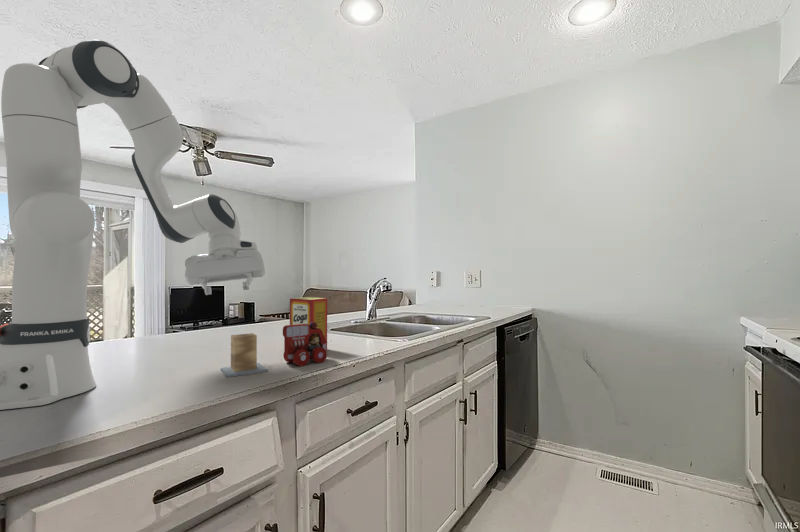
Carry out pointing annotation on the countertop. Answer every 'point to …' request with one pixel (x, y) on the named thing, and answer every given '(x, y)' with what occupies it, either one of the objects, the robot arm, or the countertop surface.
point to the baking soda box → (309, 312)
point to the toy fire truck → (304, 344)
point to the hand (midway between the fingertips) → (227, 291)
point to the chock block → (243, 352)
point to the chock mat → (231, 373)
